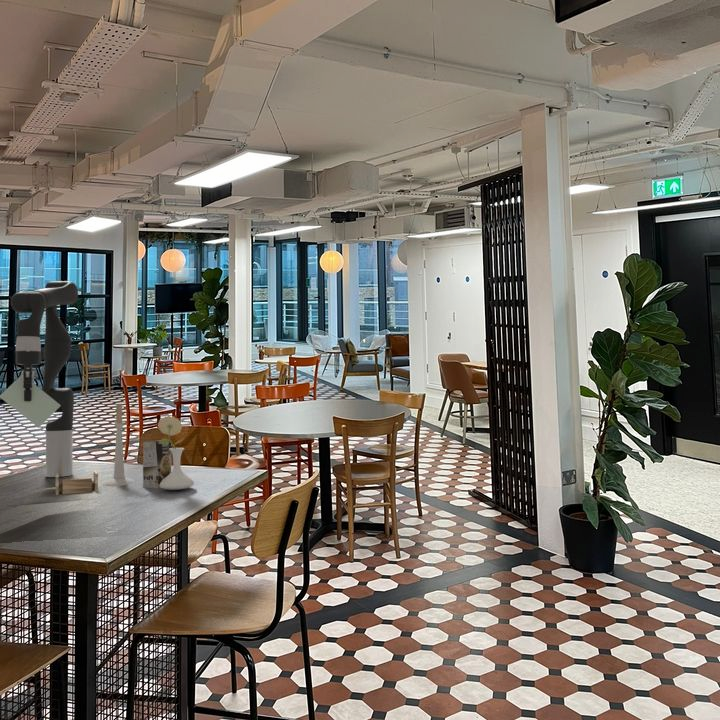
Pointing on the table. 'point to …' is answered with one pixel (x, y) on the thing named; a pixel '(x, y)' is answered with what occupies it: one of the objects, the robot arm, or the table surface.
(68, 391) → the robot arm
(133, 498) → the table surface
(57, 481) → the offcut rack
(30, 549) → the table surface
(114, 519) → the table surface
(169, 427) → the flower in vase
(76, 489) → the block
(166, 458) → the coffee box
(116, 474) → the candlestick
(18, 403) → the tall sheet
